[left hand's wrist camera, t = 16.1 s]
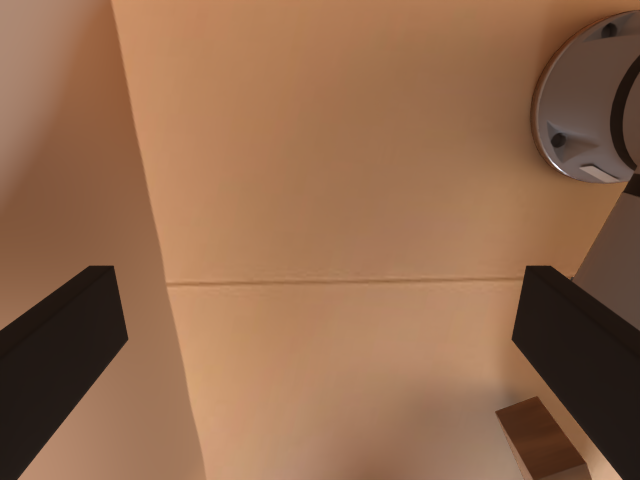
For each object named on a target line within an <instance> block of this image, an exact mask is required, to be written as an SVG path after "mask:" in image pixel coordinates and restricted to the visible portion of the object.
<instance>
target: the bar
mask: <svg viewBox="0 0 640 480" xmlns="http://www.w3.org/2000/svg"><path fill="white" fill-rule="evenodd" d="M495 413H496V415H497V418H498V420H499V422H500V425H501V427H502V429H503V431H504V434H505V436H506V438H507V441H508V443H509V445H510V448H511V450H512V452H513V455H514V457H515V459H516V461H517V464H518V466H519V468H520V471H521V473H522V475H523V478H524V480H592V478H591V475H590V473H589V470H588V467H587V464H586V462H585V461H584V459H583V458H582V457H581V455H580V454H579V453H578V451H577V450H576V448H575V447H574V446H573V444H572V443H571V442H570V440H569V439H568V438H567V436H566V435H565V433H564V432H563V431H562V429H561V428H560V427H559V425H558V424H557V423H556V421H555V420H554V419H553V417H552V416H551V414H550V413H549V412H548V410H547V409H546V408H545V406H544V405H543V404H542V402H541V401H540V399H539V398H538V397H537V396H536V397H534V398H531V399H528V400H525V401H523V402H520V403H517V404H514V405H512V406H509V407H506V408H504V409H501V410H498V411H495Z"/></svg>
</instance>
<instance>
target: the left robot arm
mask: <svg viewBox="0 0 640 480" xmlns="http://www.w3.org/2000/svg"><path fill="white" fill-rule="evenodd" d="M530 122H531V130H532V135H533V139H534V142H535V145H536V147H537V149H538V151H539V153H540V154H541V156H542V157H543V158H544V160H545V161H546V162H547V163H548V164H549V165H550V166H551V167H552V168H554V169H555V170H557V171H558V172H560V173H562V174H564V175H566V176H568V177H571V178H574V179H577V180H581V181H585V182H590V183H619V182H626V181H629V182H628V184H627V186H626V188H625V190H624V191H623V192H622V194H621V195H620V197H619V199H618V201H617V203H616V204H615V206H614V208H613V210H612V211H611V213H610V215H609V217H608V218H607V220H606V222H605V224H604V225H603V227H602V229H601V231H600V233H599V234H598V236H597V238H596V240H595V241H594V243H593V245H592V247H591V248H590V250H589V252H588V254H587V256H586V257H585V259H584V261H583V263H582V264H581V266H580V268H579V270H578V271H577V273H576V275H575V276H574V277H572V278H571V279H570V280H569V279H568V278H567V277H565V276H564V275H563V274H561V273H560V272H558V271H557V270H556V269H554V268H553V267H552V266H526V270H525V275H524V280H523V285H522V290H521V295H520V300H519V305H518V310H517V315H516V320H515V325H514V330H513V335H512V341H513V342H514V343H515V344H516V346H517V347H518V348H519V349H520V351H521V352H522V353H523V354H524V356H525V357H526V358H527V359H528V361H529V362H530V363H531V365H532V366H533V367H534V368H535V370H536V371H537V372H538V373H539V375H540V376H541V377H542V378H543V380H544V381H545V382H546V383H547V385H548V386H549V387H550V389H551V390H552V391H553V392H554V394H555V395H556V396H557V397H558V399H559V400H560V401H561V402H562V404H563V405H564V406H565V407H566V409H567V410H568V411H569V412H570V414H571V415H572V416H573V418H574V419H575V420H576V421H577V423H578V424H579V425H580V426H581V428H582V429H583V430H584V431H585V433H586V434H587V435H588V436H589V438H590V439H591V440H592V441H593V443H594V444H595V445H596V447H597V448H598V449H599V450H600V452H601V453H602V454H603V455H604V457H605V458H606V459H607V460H608V462H609V463H610V464H611V465H612V467H613V468H614V469H615V471H616V472H617V473H618V474H619V476H620V477H621V478H622V479H623V480H640V10H635V11H628V12H623V13H620V14H616V15H613V16H609V17H606V18H603V19H601V20H598V21H596V22H594V23H592V24H590V25H588V26H586V27H585V28H583V29H581V30H580V31H578V32H577V33H576V34H574V35H573V36H572V37H571V38H570V39H568V40H567V41H566V42H565V43H564V44H563V45H562V46H561V47H560V48H559V49H558V50H557V52H556V53H555V54H554V55H553V57H552V58H551V59H550V61H549V62H548V64H547V65H546V67H545V69H544V70H543V72H542V74H541V76H540V78H539V80H538V83H537V86H536V88H535V92H534V95H533V99H532V104H531V117H530ZM631 194H632V195H631ZM638 196H639V197H638ZM127 341H128V335H127V330H126V325H125V320H124V315H123V310H122V305H121V300H120V295H119V290H118V285H117V280H116V275H115V270H114V266H89V267H87V268H86V269H84V270H83V271H82V272H80V273H79V274H77V275H76V276H75V277H73V278H72V279H71V280H69V281H68V282H67V283H65V284H64V285H62V286H61V287H60V288H58V289H57V290H56V291H54V292H53V293H51V294H50V295H49V296H47V297H46V298H45V299H43V300H42V301H40V302H39V303H38V304H36V305H35V306H34V307H32V308H31V309H29V310H28V311H27V312H25V313H24V314H23V315H21V316H20V317H18V318H17V319H16V320H14V321H13V322H12V323H10V324H9V325H8V326H6V327H5V328H3V329H2V330H1V331H0V480H17V479H18V478H19V477H20V476H21V474H22V473H23V472H24V470H25V469H26V468H27V467H28V465H29V464H30V463H31V462H32V460H33V459H34V458H35V457H36V455H37V454H38V453H39V452H40V450H41V449H42V448H43V446H44V445H45V444H46V443H47V441H48V440H49V439H50V438H51V436H52V435H53V434H54V433H55V431H56V430H57V429H58V428H59V426H60V425H61V424H62V423H63V421H64V420H65V419H66V418H67V416H68V415H69V414H70V412H71V411H72V410H73V409H74V407H75V406H76V405H77V404H78V402H79V401H80V400H81V399H82V397H83V396H84V395H85V394H86V392H87V391H88V390H89V388H90V387H91V386H92V385H93V383H94V382H95V381H96V380H97V378H98V377H99V376H100V375H101V373H102V372H103V371H104V369H105V368H106V367H107V366H108V365H109V363H110V362H111V361H112V359H113V358H114V357H115V356H116V354H117V353H118V352H119V351H120V349H121V348H122V347H123V346H124V344H125V343H126V342H127Z"/></svg>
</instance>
